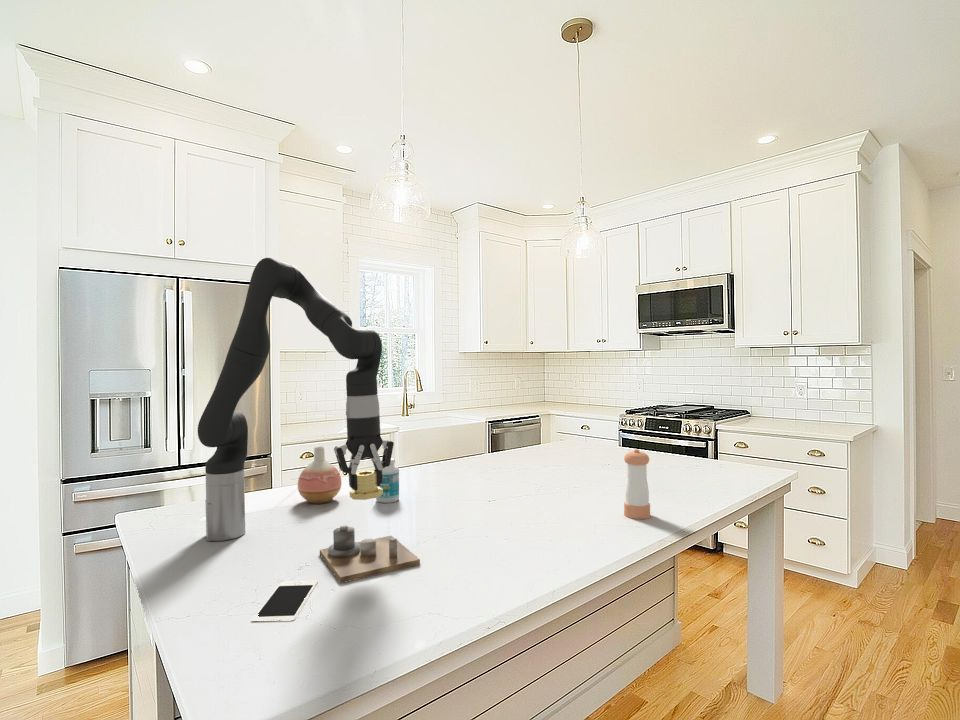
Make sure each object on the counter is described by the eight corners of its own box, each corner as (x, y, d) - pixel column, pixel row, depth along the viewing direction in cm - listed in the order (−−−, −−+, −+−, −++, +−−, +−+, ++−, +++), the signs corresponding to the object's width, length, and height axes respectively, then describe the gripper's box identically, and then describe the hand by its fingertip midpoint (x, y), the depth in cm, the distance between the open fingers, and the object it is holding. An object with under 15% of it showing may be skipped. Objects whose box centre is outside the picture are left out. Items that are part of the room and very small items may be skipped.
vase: (314, 510, 160) (313, 452, 160) (289, 502, 168) (288, 448, 168) (350, 499, 171) (349, 446, 171) (324, 493, 179) (324, 442, 179)
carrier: (340, 583, 109) (340, 548, 109) (319, 554, 124) (319, 524, 124) (420, 564, 118) (419, 532, 118) (391, 540, 134) (391, 512, 133)
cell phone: (318, 583, 110) (318, 580, 110) (294, 623, 94) (294, 619, 94) (280, 584, 109) (280, 581, 109) (250, 624, 93) (250, 621, 93)
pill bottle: (371, 502, 168) (370, 460, 168) (385, 496, 175) (385, 456, 175) (389, 504, 165) (389, 462, 165) (403, 498, 171) (403, 457, 171)
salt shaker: (651, 519, 147) (651, 452, 147) (625, 518, 149) (624, 451, 148) (648, 512, 154) (648, 447, 154) (623, 510, 156) (622, 446, 156)
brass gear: (356, 501, 117) (355, 478, 117) (347, 494, 123) (346, 472, 123) (386, 495, 120) (385, 473, 120) (375, 489, 126) (374, 468, 126)
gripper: (336, 419, 114) (340, 496, 115) (398, 413, 122) (401, 485, 122) (327, 416, 121) (331, 489, 121) (386, 410, 128) (389, 480, 128)
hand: (366, 487), depth 121 cm, fingers closed on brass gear, 4 cm apart
